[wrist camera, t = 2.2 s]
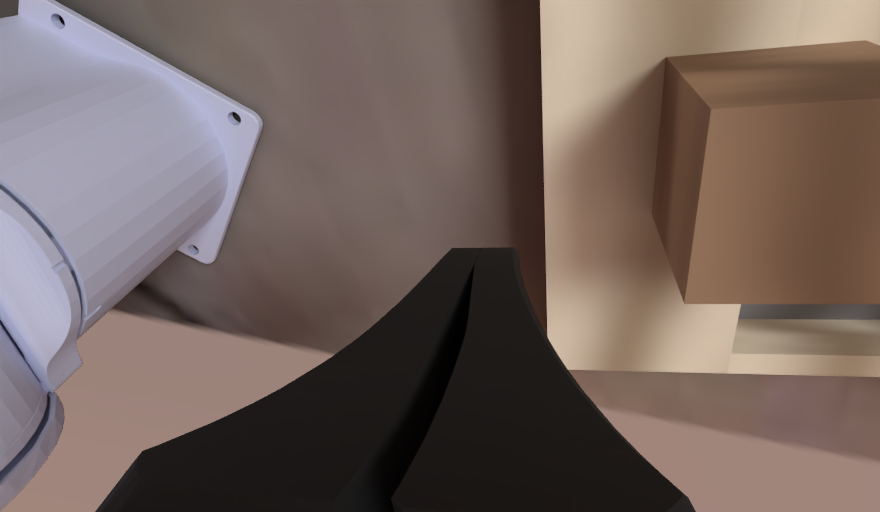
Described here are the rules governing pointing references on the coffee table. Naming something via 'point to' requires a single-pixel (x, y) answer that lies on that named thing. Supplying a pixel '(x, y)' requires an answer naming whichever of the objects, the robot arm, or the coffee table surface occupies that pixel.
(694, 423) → the coffee table surface
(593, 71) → the trap board
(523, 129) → the coffee table surface
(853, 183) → the block
